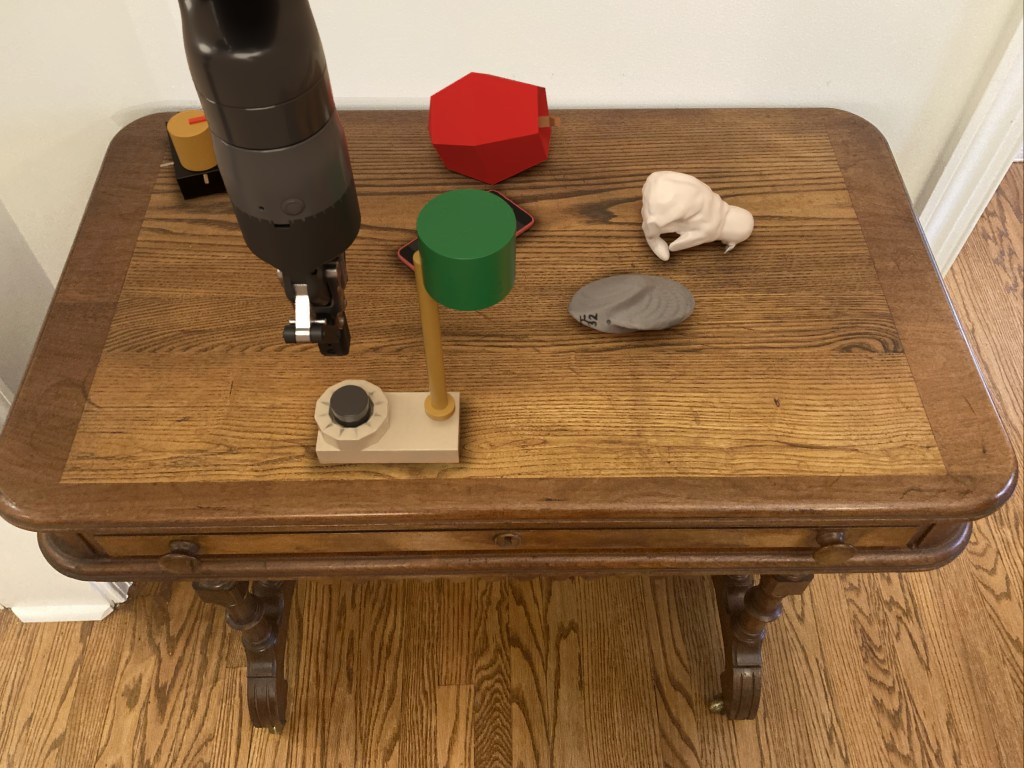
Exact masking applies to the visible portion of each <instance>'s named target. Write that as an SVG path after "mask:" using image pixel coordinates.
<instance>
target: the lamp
mask: <svg viewBox="0 0 1024 768" xmlns="http://www.w3.org/2000/svg"><path fill="white" fill-rule="evenodd" d="M487 191H488V190H487ZM487 191H486V190H483V189H476V188H459V189H452V190H448V191H445V192H443V193H440V194H438V195H436V196H434V197H433V198H430V200H429V201H427V202H426V203H425V204H424V205H423V207H422V208H421V209H420V211H419V213H418V215H417V217H416V222H415V224H416V225H415V226H416V227H415V228H416V238H417V237H418V246H419V250H418V251H417V252H415V253H414V255H413V264H414V271H415V272H414V271H413V272H414V278H415V286H416V294H417V301H418V303H417V304H418V310H419V319H420V327H421V334H422V341H423V342H422V343H423V349H424V359H425V366H426V374H427V381H428V392H430V395H429V396H428V397H427V398H426V399H425V402H424V408H425V413H426V415H427V416H428V417H429V418H430V419H432V420H435V421H444V420H447V419H449V418H450V417H451V416H452V415H453V414H454V412H455V400H454V398H453V396H452V395H450V394H449V393H447V392H448V387H447V380H446V370H445V358H444V349H443V338H442V329H441V327H442V326H441V319H440V318H441V317H440V305H441V306H443V307H445V308H447V309H451V310H454V311H460V312H477V311H481V310H485V309H489V308H491V307H493V306H495V305H497V304H498V303H500V302H502V301H503V300H504V299H505V298H506V297H507V296H508V295H509V294H510V293H511V291H512V289H513V287H514V286H515V281H516V275H517V273H516V271H517V270H516V268H517V267H516V266H517V265H516V263H517V261H516V260H517V237H516V218H515V214H514V212H513V210H512V209H511V207H510V206H509V205H508V204H507V203H506V202H505V201H504V200H503V199H501V198H500V197H498V196H497V195H494V194H492V193H490V192H487Z"/></svg>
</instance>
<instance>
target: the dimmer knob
mask: <svg viewBox="0 0 1024 768" xmlns="http://www.w3.org/2000/svg"><path fill="white" fill-rule="evenodd" d="M168 121H169V122H168ZM168 121H167V122H168V124H167V128H166V130H167V129H168V131H169V134H170V137H171V139H172V142H173V144H174V147H175V149H176V152H177V154H178V157H179V160H180V162H181V164H182V166H183V167H184V168H186V169H188V170H191V171H204V170H208V169H210V168H213V167H214V166H216V165H217V162H216V158H215V154H214V149H213V144H212V138H211V133H210V129H209V126H208V123H207V120H206V117H205V114H204V111H203V110H199V109H188V110H183V111H180V112H178V113H176V114H174V115H173V116H172V117H170V119H169V120H168Z"/></svg>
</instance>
